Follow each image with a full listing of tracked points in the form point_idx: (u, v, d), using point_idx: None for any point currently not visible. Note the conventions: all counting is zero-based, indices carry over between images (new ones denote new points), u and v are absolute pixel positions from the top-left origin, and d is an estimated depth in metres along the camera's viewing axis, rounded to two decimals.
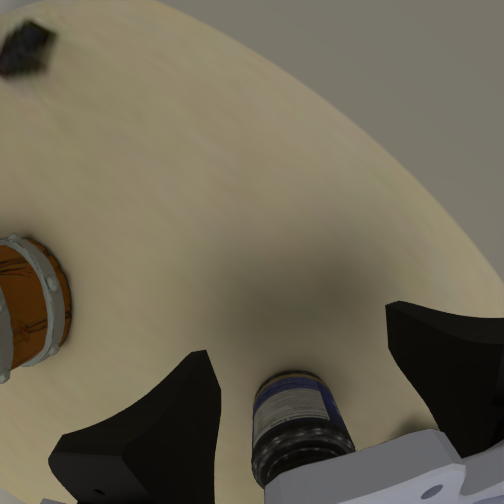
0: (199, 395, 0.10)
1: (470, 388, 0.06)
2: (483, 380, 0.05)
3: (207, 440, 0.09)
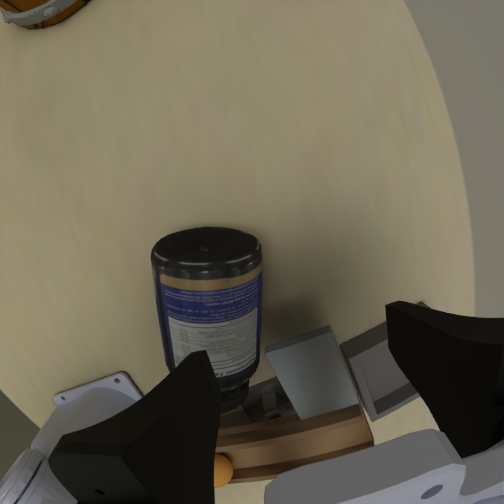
0: (199, 395, 0.10)
1: (470, 388, 0.06)
2: (483, 380, 0.05)
3: (207, 440, 0.09)
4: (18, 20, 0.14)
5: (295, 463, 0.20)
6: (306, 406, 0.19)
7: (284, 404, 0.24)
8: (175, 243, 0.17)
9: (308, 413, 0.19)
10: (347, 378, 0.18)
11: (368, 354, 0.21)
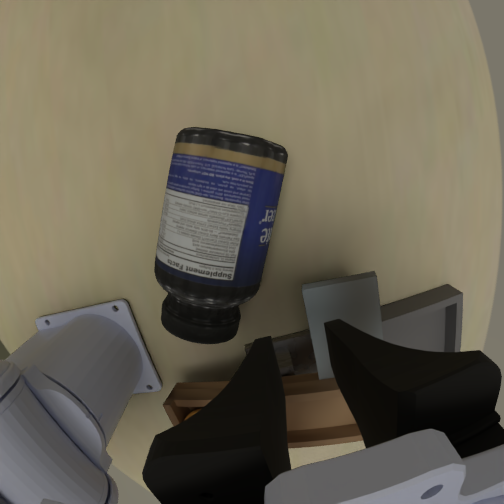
0: (274, 381, 0.09)
1: (381, 426, 0.06)
2: (388, 422, 0.05)
3: (283, 428, 0.09)
4: None
5: (297, 434, 0.19)
6: (329, 363, 0.17)
7: (294, 367, 0.22)
8: None
9: (329, 373, 0.18)
10: (380, 335, 0.16)
11: (394, 323, 0.20)
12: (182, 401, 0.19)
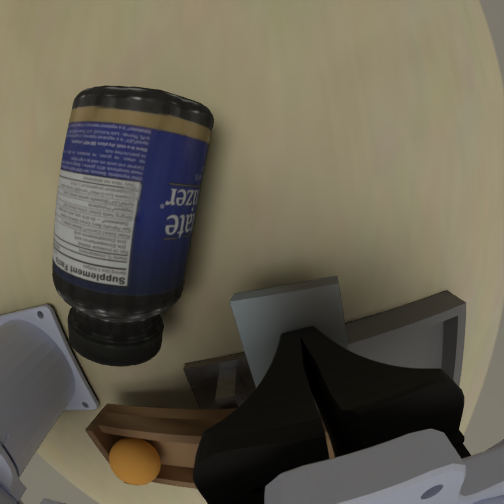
0: (306, 374, 0.09)
1: (338, 439, 0.06)
2: (341, 437, 0.05)
3: None
4: None
5: None
6: None
7: (246, 393, 0.18)
8: None
9: None
10: None
11: (374, 343, 0.15)
12: (106, 427, 0.14)
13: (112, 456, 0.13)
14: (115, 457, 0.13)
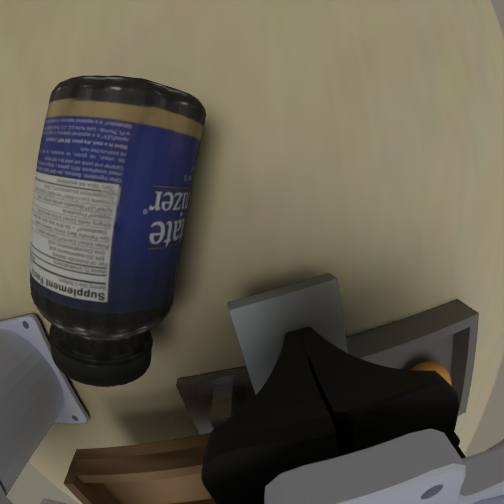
0: None
1: None
2: None
3: None
4: None
5: None
6: None
7: None
8: None
9: None
10: None
11: (382, 358, 0.14)
12: (87, 477, 0.10)
13: None
14: None
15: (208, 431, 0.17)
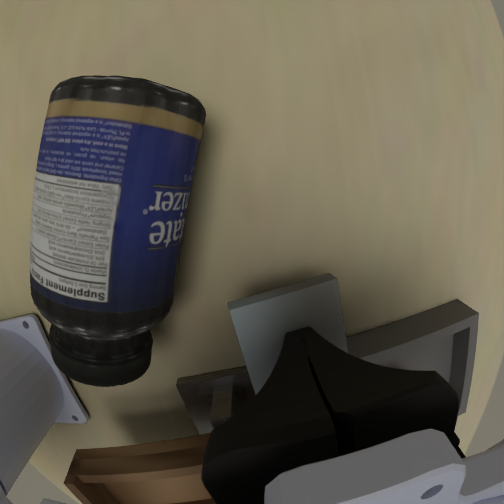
0: None
1: None
2: None
3: None
4: None
5: None
6: None
7: None
8: None
9: None
10: None
11: (382, 358, 0.14)
12: (87, 477, 0.10)
13: None
14: None
15: (208, 431, 0.17)
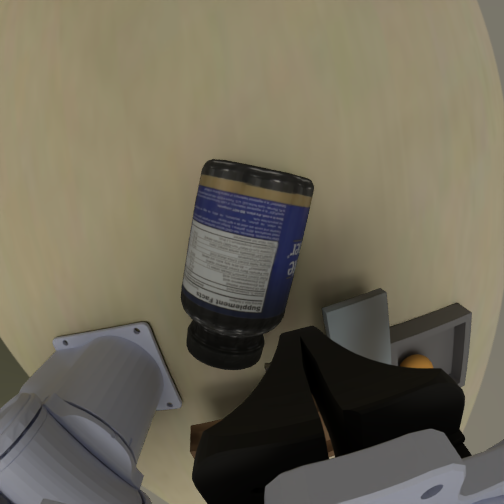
0: (306, 374, 0.09)
1: (338, 439, 0.06)
2: (342, 437, 0.05)
3: None
4: None
5: None
6: None
7: None
8: None
9: None
10: (388, 342, 0.19)
11: (408, 342, 0.20)
12: None
13: (406, 358, 0.22)
14: (405, 360, 0.22)
15: None
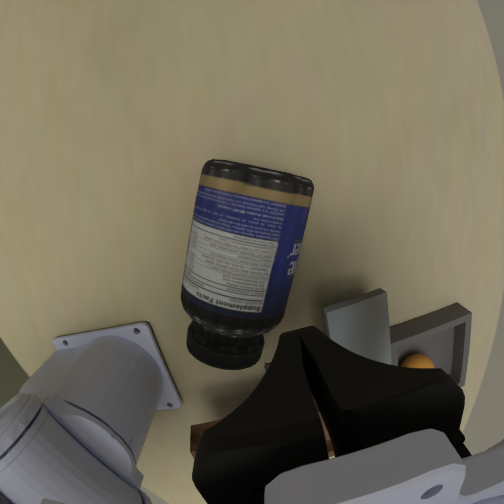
0: (306, 374, 0.09)
1: (338, 439, 0.06)
2: (342, 437, 0.05)
3: None
4: None
5: None
6: None
7: None
8: None
9: None
10: (388, 342, 0.19)
11: (408, 342, 0.20)
12: None
13: (406, 358, 0.22)
14: (406, 360, 0.22)
15: None
